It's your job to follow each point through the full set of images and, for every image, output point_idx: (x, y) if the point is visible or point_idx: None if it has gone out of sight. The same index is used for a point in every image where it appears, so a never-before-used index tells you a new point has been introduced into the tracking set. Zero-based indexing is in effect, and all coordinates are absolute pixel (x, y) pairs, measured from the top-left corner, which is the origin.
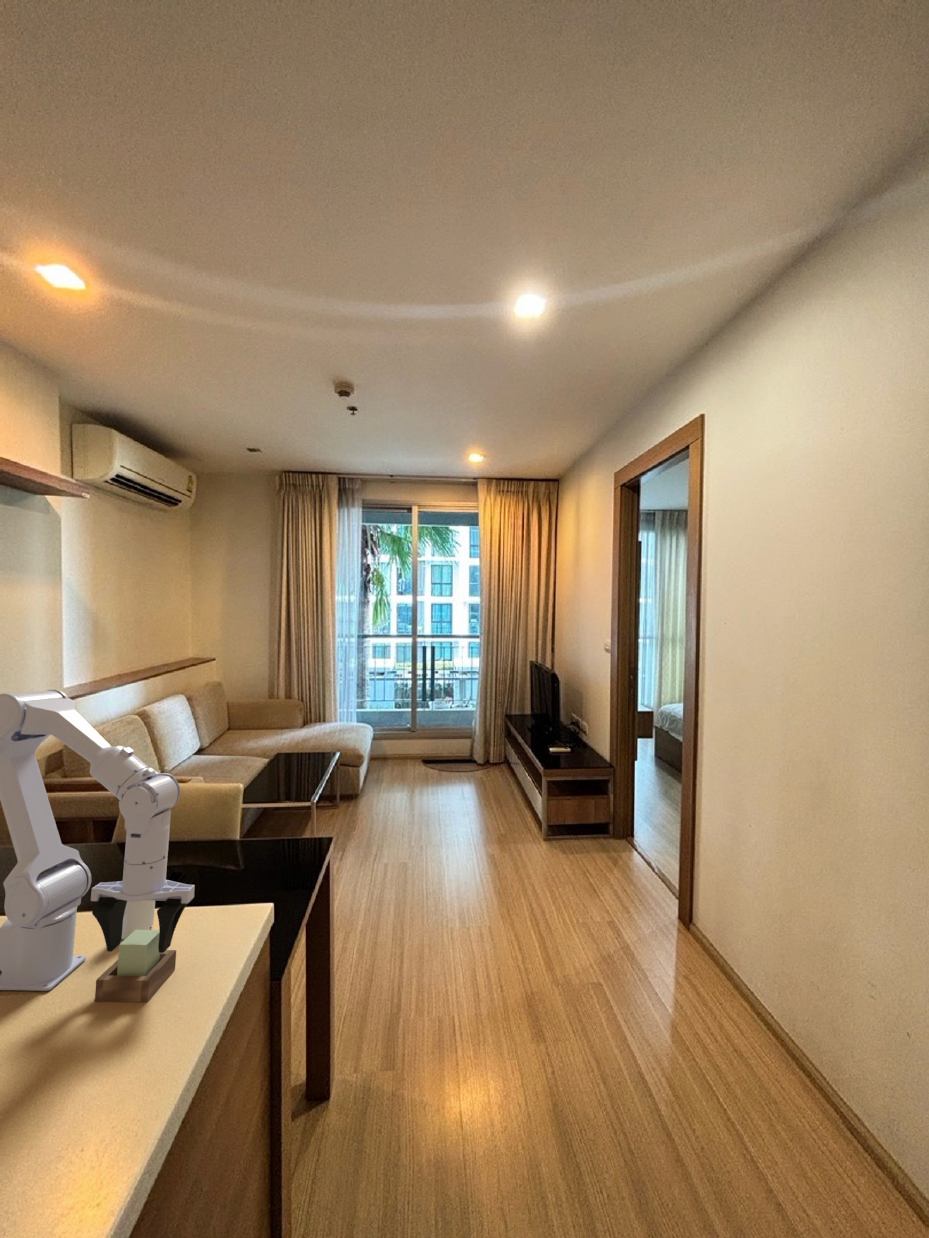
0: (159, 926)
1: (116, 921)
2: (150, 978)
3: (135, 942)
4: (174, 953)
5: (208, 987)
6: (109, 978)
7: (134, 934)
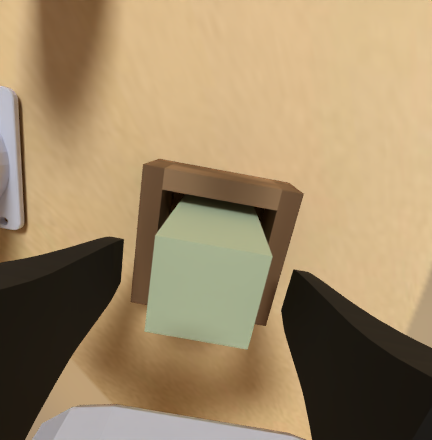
0: (311, 428)
1: (61, 325)
2: (266, 317)
3: (199, 328)
4: (299, 204)
5: (384, 267)
6: None
7: (168, 271)
